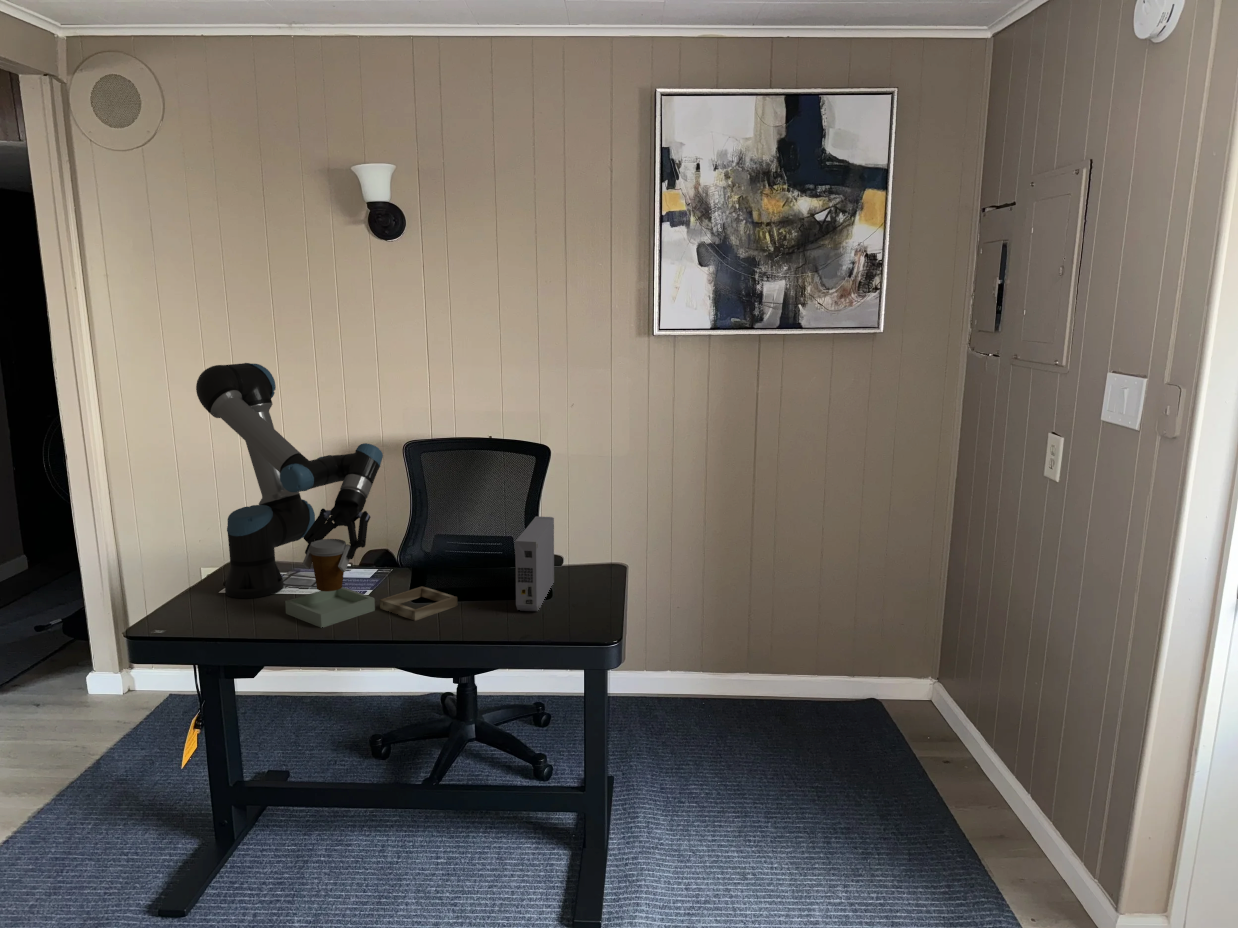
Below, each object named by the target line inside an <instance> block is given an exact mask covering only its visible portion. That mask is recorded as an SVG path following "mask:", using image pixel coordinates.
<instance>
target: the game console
mask: <svg viewBox="0 0 1238 928" xmlns="http://www.w3.org/2000/svg"><path fill="white" fill-rule="evenodd" d="M514 546H515V547H514V548H515V550H514V552H515V554H514V555H515V556H514V557H515V558H514V559H515V564H514V565H515V606H516V610H517V611H518V610H520V612H521V611H522V612H524V611H525V612H539V611H540V609H541V607H542V606H541V605H543V604H544V602H545V600H546V598H547V596H548V595H547V594H549V593H550V591H551V589H552V587H553V586H552V585H554V584H553V583H555V518H554V517H552V516H537V515H536V516H535V517H534V518H533V519H532V521H531V522H529V524H528V526H527V527H526V528H525V529H524V530H523V531H522V533H521V534H520V535H519V536H518V537H517V539H515V542H514ZM551 586H552V587H551ZM550 588H551V589H550ZM549 590H550V591H549ZM548 592H549V593H548ZM545 597H546V598H545ZM544 599H545V600H544ZM543 601H544V602H543ZM542 603H543V604H542ZM539 608H540V609H539ZM538 610H539V611H538Z"/></svg>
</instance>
